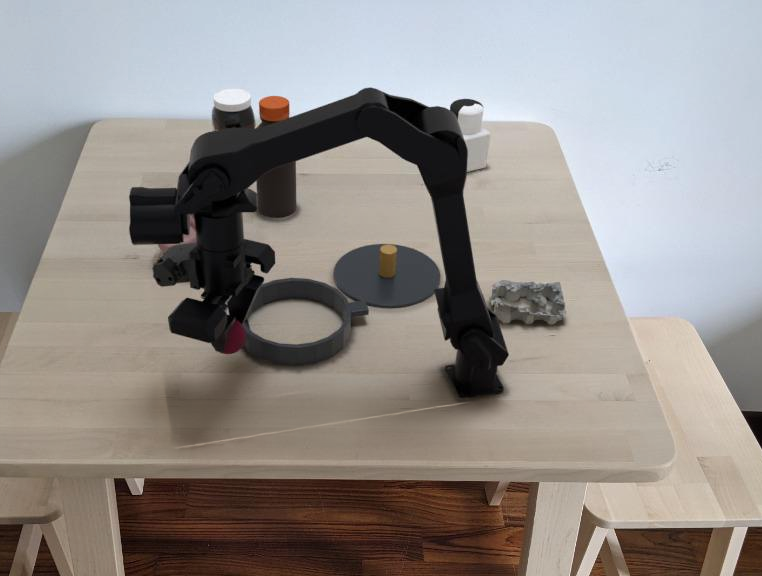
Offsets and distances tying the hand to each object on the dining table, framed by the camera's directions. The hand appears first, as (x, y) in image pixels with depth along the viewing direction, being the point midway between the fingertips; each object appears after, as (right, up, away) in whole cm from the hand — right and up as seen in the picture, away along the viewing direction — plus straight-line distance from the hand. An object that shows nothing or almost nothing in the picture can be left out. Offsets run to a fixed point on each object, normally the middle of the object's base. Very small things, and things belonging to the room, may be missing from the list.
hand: (228, 339), depth 120 cm
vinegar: (+5, +24, +40) cm, 47 cm away
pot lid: (+23, +11, +24) cm, 35 cm away
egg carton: (+43, +5, +18) cm, 47 cm away
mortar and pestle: (-8, +14, +29) cm, 33 cm away
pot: (+8, +2, +15) cm, 17 cm away
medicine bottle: (+39, +36, +52) cm, 75 cm away
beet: (0, -1, +1) cm, 2 cm away
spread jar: (-1, +38, +55) cm, 67 cm away
